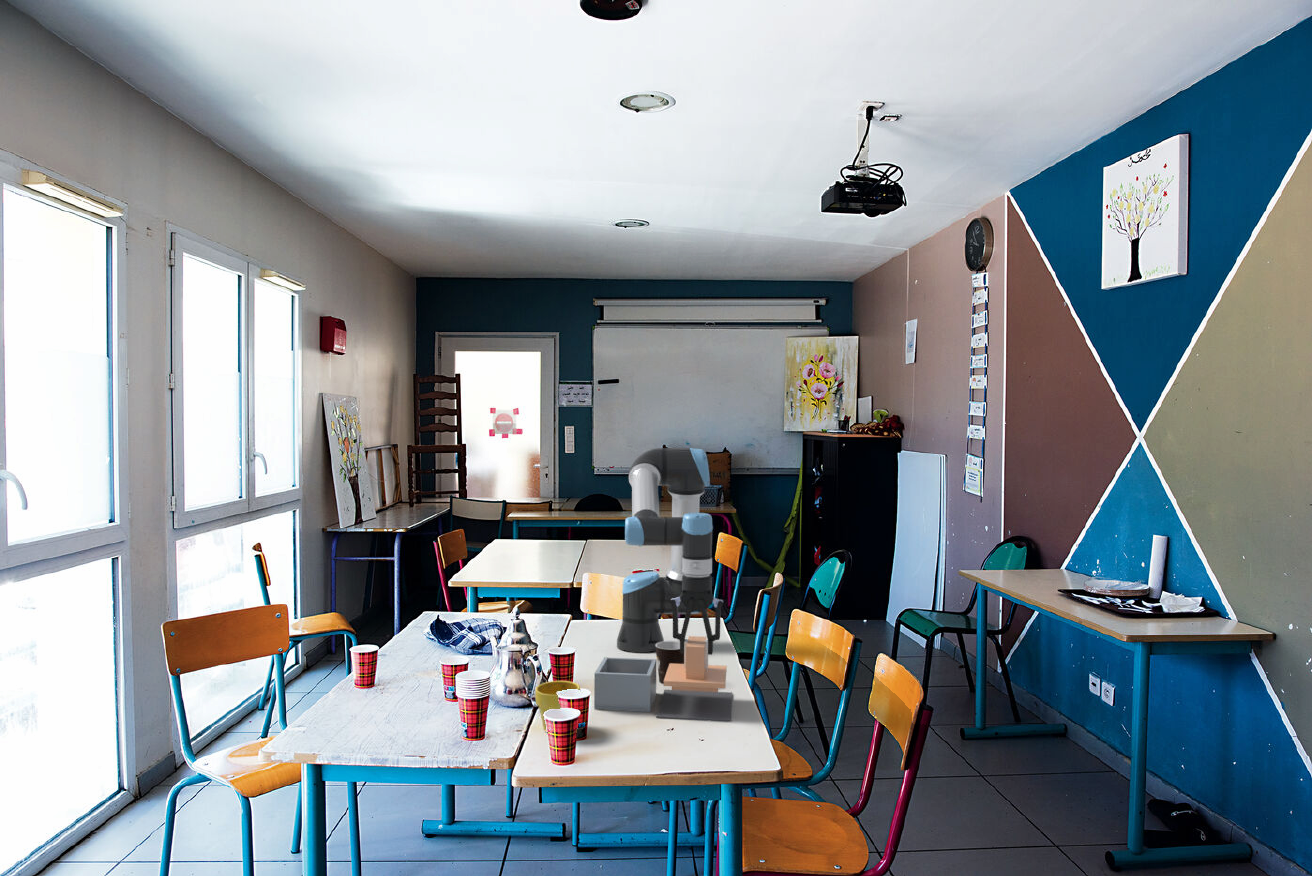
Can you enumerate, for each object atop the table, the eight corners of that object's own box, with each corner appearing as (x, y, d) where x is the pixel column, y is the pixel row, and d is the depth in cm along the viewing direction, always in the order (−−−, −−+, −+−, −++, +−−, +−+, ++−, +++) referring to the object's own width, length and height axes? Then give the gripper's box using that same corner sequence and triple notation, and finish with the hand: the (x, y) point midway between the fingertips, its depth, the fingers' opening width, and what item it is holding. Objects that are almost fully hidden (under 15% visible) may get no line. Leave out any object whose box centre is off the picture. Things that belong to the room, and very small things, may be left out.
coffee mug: (683, 687, 218) (683, 650, 218) (652, 684, 219) (652, 648, 219) (690, 674, 229) (690, 639, 229) (660, 672, 231) (660, 637, 231)
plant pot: (530, 736, 182) (530, 694, 182) (540, 720, 193) (540, 679, 192) (575, 738, 182) (576, 695, 181) (583, 721, 192) (583, 680, 192)
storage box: (604, 690, 214) (604, 657, 214) (656, 693, 213) (656, 659, 213) (594, 709, 200) (594, 673, 200) (649, 711, 199) (650, 675, 199)
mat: (664, 691, 214) (664, 689, 214) (732, 694, 213) (732, 692, 213) (656, 718, 195) (656, 716, 195) (730, 721, 193) (730, 719, 193)
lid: (669, 673, 212) (669, 633, 211) (726, 676, 210) (726, 635, 210) (663, 692, 197) (663, 648, 197) (724, 694, 195) (725, 650, 195)
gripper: (660, 576, 200) (660, 669, 201) (731, 578, 198) (730, 672, 199) (663, 571, 208) (663, 661, 208) (732, 572, 206) (731, 663, 206)
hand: (696, 666), depth 203 cm, fingers closed on lid, 4 cm apart
